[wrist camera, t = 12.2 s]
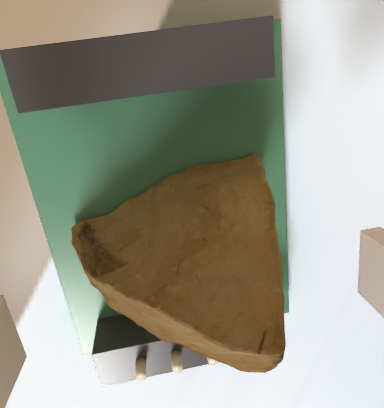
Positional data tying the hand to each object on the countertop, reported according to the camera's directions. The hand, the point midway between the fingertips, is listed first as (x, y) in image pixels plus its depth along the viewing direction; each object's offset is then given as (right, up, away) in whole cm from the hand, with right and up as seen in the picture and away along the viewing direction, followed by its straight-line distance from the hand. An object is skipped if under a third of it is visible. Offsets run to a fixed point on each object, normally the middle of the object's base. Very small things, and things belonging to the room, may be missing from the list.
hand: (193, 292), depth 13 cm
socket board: (-2, +3, +8) cm, 9 cm away
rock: (-2, +3, +7) cm, 8 cm away
